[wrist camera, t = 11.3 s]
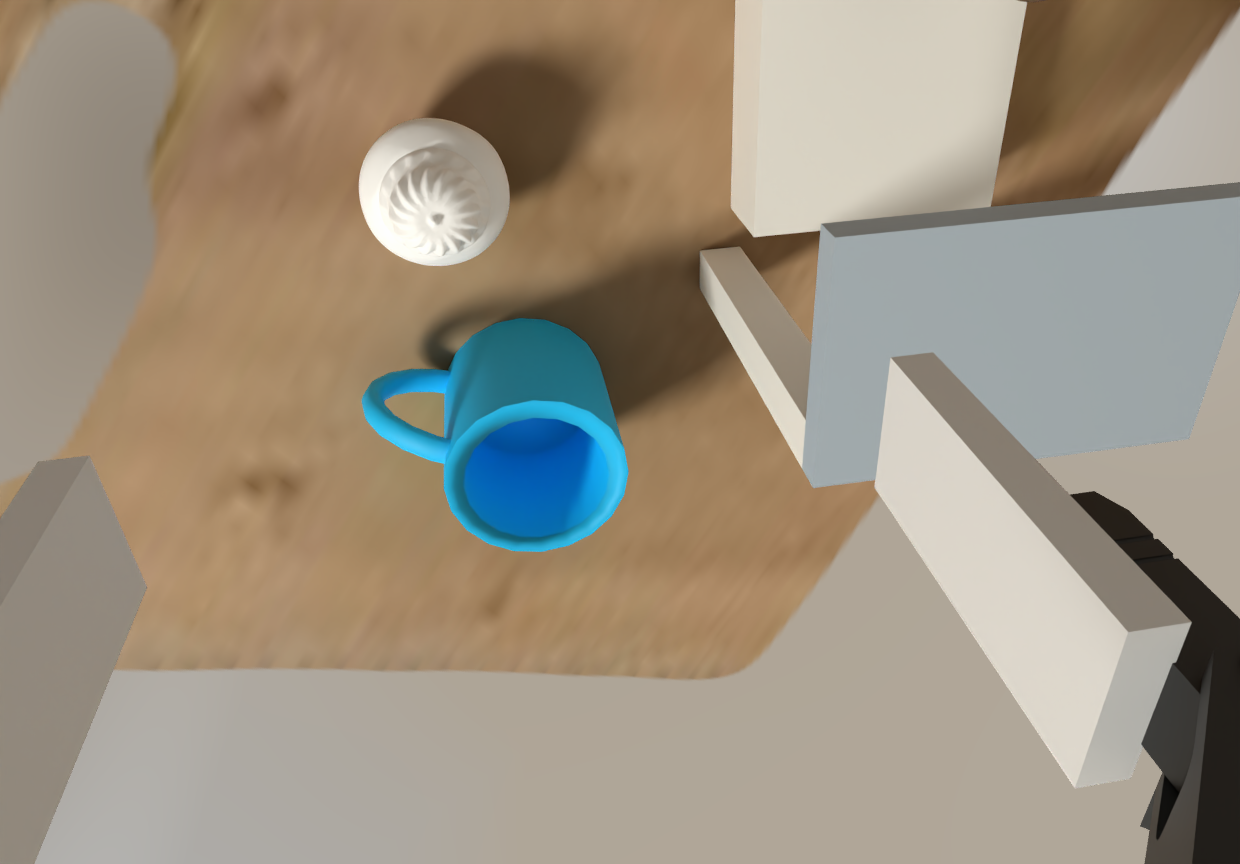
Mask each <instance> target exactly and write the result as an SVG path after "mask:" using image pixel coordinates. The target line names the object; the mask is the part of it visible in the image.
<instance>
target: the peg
mask: <svg viewBox="0 0 1240 864" xmlns="http://www.w3.org/2000/svg"><path fill="white" fill-rule="evenodd" d="M1018 1H1023V2H1039V1H1045V0H1018Z"/></svg>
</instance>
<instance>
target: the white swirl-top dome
mask: <svg viewBox="0 0 1240 864" xmlns="http://www.w3.org/2000/svg"><path fill="white" fill-rule="evenodd" d="M359 196H360V203H361V207H362V210H363V214H364V216H365V219H366V221H367V224H368V226H369V227H370V229H371V231H372V232H373V234H374V235H375V237H376V238H377V239H378V240H379V241H380V242H381V243H382V244H383V245H384V246H385V247H386V248H387V249H389V250H390V251H391V252H393V253H394V254H396V255H398V256H400V257H402V258H404V259H406V260H409V261H411V262H415V263H418V264H422V265H430V266H445V265H453V264H457V263H461V262H464V261H467V260H469V259H472V258H473V257H475V256H477V255H479V254H480V253H482V252H483V251H484V250H485V249H487V248H488V247H489V246H490V245H491V244H492V243H493V241H494V240H495V239H496V238H497V236H498V235H499V233H500V232H501V230H502V228H503V226H504V223H505V221H506V218H507V215H508V210H509V202H510V192H509V184H508V179H507V175H506V171H505V168H504V165H503V163H502V161H501V159H500V157H499V155H498V153H497V152H496V150H495V149H494V148H493V146H492V145H491V144H490V143H489V142H488V141H487V140H486V139H485V138H484V137H482V136H481V135H480V134H478V133H477V132H475V131H473V130H472V129H470V128H468V127H466V126H463V125H461V124H458V123H456V122H453V121H449V120H444V119H438V118H418V119H413V120H409V121H406V122H403V123H400V124H398V125H396V126H394V127H393V128H391V129H390V130H388V131H387V132H385V133H384V134H383V135H382V136H381V137H380V138H379V139H378V140H377V141H376V142H375V143H374V144H373V146H372V147H371V148H370V150H369V152H368V153H367V155H366V157H365V159H364V161H363V164H362V167H361V171H360V177H359Z"/></svg>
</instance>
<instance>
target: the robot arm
mask: <svg viewBox="0 0 1240 864" xmlns="http://www.w3.org/2000/svg"><path fill="white" fill-rule="evenodd" d="M875 489H876V490H877V492H878V493H879V495H880V496H881V498H882V499H883V501H884V502H885V504H886V505H887V507H888V508H889V510H890V511H891V513H892V514H893V516H894V517H895V519H896V520H897V522H898V523H899V525H900V526H901V528H902V529H903V531H904V532H905V534H906V535H907V537H908V538H909V540H910V541H911V543H912V544H913V546H914V547H915V549H916V550H917V552H918V553H919V555H920V556H921V558H922V559H923V561H924V562H925V564H926V565H927V567H928V568H929V570H930V571H931V573H932V574H933V576H934V577H935V579H936V580H937V582H938V583H939V585H940V586H941V588H942V589H943V591H944V592H945V594H946V595H947V597H948V598H949V600H950V601H951V603H952V604H953V606H954V607H955V609H956V610H957V612H958V613H959V615H960V616H961V618H962V619H963V621H964V622H965V624H966V625H967V627H968V629H969V630H970V631H971V633H972V634H973V636H974V637H975V639H976V641H977V642H978V644H979V645H980V646H981V648H982V650H983V651H984V653H985V654H986V656H987V657H988V658H989V660H990V661H991V663H992V665H993V666H994V667H995V669H996V671H997V672H998V674H999V675H1000V676H1001V678H1002V680H1003V681H1004V683H1005V684H1006V686H1007V687H1008V689H1009V690H1010V692H1011V693H1012V695H1013V696H1014V698H1015V699H1016V701H1017V702H1018V704H1019V705H1020V707H1021V708H1022V710H1023V711H1024V713H1025V714H1026V716H1027V717H1028V719H1029V720H1030V721H1031V723H1032V725H1033V726H1034V728H1035V729H1036V731H1037V732H1038V734H1039V735H1040V737H1041V738H1042V740H1043V741H1044V743H1045V744H1046V746H1047V747H1048V749H1049V750H1050V752H1051V753H1052V755H1053V756H1054V758H1055V759H1056V761H1057V762H1058V764H1059V765H1060V767H1061V768H1062V770H1063V771H1064V773H1065V774H1066V776H1067V777H1068V779H1069V780H1070V782H1071V783H1072V785H1073V786H1074V788H1080V787H1085V786H1091V785H1097V784H1102V783H1108V782H1114V781H1119V780H1125V779H1130V778H1131V776H1132V773H1133V771H1134V769H1135V766H1136V764H1137V761H1138V758H1139V756H1140V753H1141V751H1142V748H1143V747H1144V748H1145V750H1146V751H1147V752H1148V754H1149V755H1150V756H1151V758H1152V759H1153V760H1154V761H1155V763H1156V764H1157V765H1158V766H1159V768H1160V769H1161V771H1162V772H1163V773H1162V775H1161V777H1160V780H1159V782H1158V785H1157V787H1156V789H1155V792H1154V794H1153V797H1152V799H1151V801H1150V804H1149V806H1148V809H1147V811H1146V813H1145V816H1144V818H1143V820H1142V823H1141V825H1140V826H1141V827H1144V828H1146V829H1149V830H1150V831H1149V838H1148V845H1147V851H1146V858H1145V864H1240V619H1239V618H1238V616H1236V615H1235V614H1234V613H1233V612H1232V611H1231V610H1230V609H1229V608H1228V607H1227V606H1226V605H1225V604H1224V603H1223V602H1222V601H1221V600H1220V599H1219V598H1218V597H1217V596H1216V595H1215V594H1214V593H1213V592H1212V591H1211V590H1210V589H1209V588H1208V587H1207V586H1206V585H1205V584H1204V583H1203V582H1202V581H1201V580H1199V578H1197V576H1195V575H1194V574H1193V573H1192V572H1191V571H1190V570H1189V569H1188V568H1187V567H1186V566H1185V565H1184V564H1183V563H1182V562H1181V561H1180V560H1179V559H1174V558H1173V553H1172V552H1171V551H1170V550H1169V549H1168V548H1167V547H1166V546H1165V545H1164V544H1162V542H1161V541H1160V540H1158V539H1154V538H1153V534H1152V533H1151V532H1150V531H1149V530H1148V529H1147V528H1146V527H1145V526H1144V525H1143V524H1142V523H1141V522H1140V521H1139V520H1138V519H1137V518H1136V517H1135V516H1134V515H1133V514H1132V513H1131V512H1130V511H1129V510H1127V509H1125V508H1124V507H1122V506H1120V505H1118V504H1116V503H1114V502H1113V501H1111V500H1109V499H1107V498H1105V497H1104V496H1102V495H1100V494H1098V493H1096V492H1095V491H1093V492H1086V493H1079V494H1071V495H1069V494H1068V492H1067V491H1065V490H1064V488H1062V486H1061V485H1060V484H1059V483H1058V482H1057V481H1056V480H1055V479H1054V478H1053V477H1052V476H1051V475H1050V474H1049V473H1048V472H1047V471H1046V470H1045V469H1044V468H1043V466H1042V465H1041V464H1040V463H1038V461H1037V460H1036V459H1035V458H1034V457H1033V456H1032V455H1031V454H1030V453H1029V452H1028V451H1027V450H1026V449H1025V448H1024V447H1023V446H1022V445H1021V443H1020V442H1019V441H1018V440H1017V439H1016V438H1015V437H1014V436H1013V435H1012V434H1011V433H1010V432H1009V431H1008V430H1007V429H1006V428H1005V427H1004V426H1003V425H1002V424H1001V423H1000V422H999V421H998V419H997V418H996V417H995V416H994V415H993V414H992V413H991V412H990V411H989V410H988V409H987V408H986V407H985V406H984V405H983V404H982V403H981V402H980V401H979V400H978V399H977V398H976V397H975V395H974V394H973V393H972V392H971V391H970V390H969V389H968V388H967V387H966V386H965V385H964V384H963V383H962V382H961V381H960V380H959V379H958V378H957V377H956V376H955V375H954V374H953V373H952V371H951V370H950V369H949V368H948V367H947V366H946V365H945V364H944V363H943V362H942V361H941V360H940V359H939V358H938V357H937V356H936V355H935V354H934V353H933V352H931V353H923V354H915V355H906V356H898V357H891V358H890V366H889V374H888V382H887V390H886V398H885V407H884V415H883V423H882V431H881V439H880V447H879V456H878V464H877V472H876V480H875ZM146 589H147V586H146V584H145V581H144V579H143V577H142V575H141V572H140V570H139V568H138V565H137V563H136V561H135V559H134V556H133V554H132V552H131V549H130V547H129V545H128V543H127V540H126V538H125V536H124V533H123V531H122V529H121V526H120V524H119V522H118V520H117V517H116V515H115V513H114V510H113V508H112V506H111V504H110V501H109V499H108V497H107V494H106V492H105V490H104V488H103V485H102V483H101V481H100V478H99V476H98V474H97V472H96V469H95V467H94V465H93V462H92V460H91V458H90V456H82V457H73V458H65V459H57V460H49V461H41V462H38V463H37V464H36V466H35V467H34V469H33V470H32V472H31V473H30V475H29V476H28V478H27V479H26V481H25V482H24V484H23V485H22V487H21V488H20V490H19V491H18V493H17V494H16V496H15V497H14V499H13V500H12V502H11V503H10V505H9V506H8V508H7V509H6V511H5V512H4V514H3V515H2V517H1V518H0V864H34V863H35V860H36V858H37V855H38V853H39V851H40V848H41V846H42V843H43V841H44V838H45V836H46V834H47V831H48V829H49V826H50V824H51V821H52V819H53V816H54V814H55V812H56V809H57V807H58V804H59V802H60V799H61V797H62V794H63V792H64V789H65V787H66V784H67V782H68V779H69V777H70V774H71V772H72V770H73V767H74V765H75V762H76V760H77V757H78V755H79V753H80V750H81V748H82V745H83V743H84V740H85V738H86V736H87V733H88V731H89V728H90V726H91V723H92V721H93V718H94V716H95V714H96V711H97V709H98V706H99V704H100V701H101V699H102V696H103V694H104V691H105V689H106V687H107V684H108V682H109V679H110V676H111V674H112V672H113V669H114V667H115V665H116V662H117V660H118V657H119V655H120V652H121V650H122V647H123V645H124V642H125V640H126V638H127V635H128V633H129V630H130V628H131V625H132V623H133V620H134V618H135V616H136V613H137V611H138V608H139V606H140V603H141V601H142V598H143V596H144V593H145V591H146Z"/></svg>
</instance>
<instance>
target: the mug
mask: <svg viewBox="0 0 1240 864" xmlns="http://www.w3.org/2000/svg"><path fill="white" fill-rule="evenodd" d="M408 392H438V393H445V414H444V438H443V437H439V436H436V435H434V434H431V433H428V432H426V431H423V430H421V429H418V428H416V427H413V426H411V425H410V424H408V423H406V422H405V421H403V420H401V419H400V418H398V417H397V416H395V415H394V414H393V413H392V412H391V411H390V410H389V409H388V408H387V407H386V406H385V403H384V401H385V400H386V399H388V398H390V397H392V396H394V395H398V394H403V393H408ZM362 405H363V409H364V413H365V418H366V420H367V422H368V423H369V424H370V425H371V426H372V427H373V428H374V429H375V430H376V431H377V433H378V434H379V435H380V436H382V437H383V438H385V439H387V440H388V441H390V442H391V443H393V444H395V445H396V446H398V447H400V448H401V449H403V450H405V451H408V452H410V453H413V454H415V455H418V456H420V457H423V458H425V459H428V460H431V461H435V462H439V463H443V464H444V490H445V493H446V496H447V499H448V502H449V505H450V508H451V511H452V513H453V514H454V515H455V516H456V517H457V519H458V520H459V521H460V522H461V524H462V525H463V526H464V527H465V528H466V530H467V531H469V532H471V533H472V534H474V535H475V536H477V537H479V538H480V539H482V540H483V541H485V542H487V543H488V544H491V545H495V546H498V547H502V548H505V549H509V550H512V551H534V552H542V551H547V550H551V549H556V548H560V547H565V546H569V545H571V544H573V543H575V542H577V541H579V540H581V539H583V538H585V537H586V536H588V535H590V534H592V533H594V532H595V531H596V530H597V529H598V528H599V527H600V526H601V525H602V524H603V523H605V522H606V521H607V520H608V519H609V518H610V517H611V516H612V515H613V513H614V511H615V509H616V508H617V506H618V504H619V503H620V501H621V499H622V498H623V496H624V493H625V487H626V482H627V477H628V467H627V461H626V456H625V451H624V447H623V443H622V440H621V436H620V433H619V429H618V426H617V423H616V419H615V416H614V412H613V409H612V406H611V402H610V399H609V395H608V392H607V388H606V385H605V382H604V378H603V375H602V371H601V368H600V364H599V362H598V360H597V359H596V357H595V355H594V354H593V352H592V351H591V349H590V347H589V346H588V344H587V343H586V342H585V341H583V340H582V339H581V338H580V337H578V336H577V335H576V334H575V333H573V332H572V331H571V330H570V329H568V328H565V327H563V326H560V325H558V324H555V323H552V322H550V321H547V320H540V319H527V318H518V319H513V320H508V321H504V322H499V323H495V324H493V325H491V326H489V327H487V328H485V329H484V330H482V331H480V332H478V333H476V334H474V335H473V336H472V337H471V338H470V339H469V340H468V341H467V342H466V343H465V344H464V345H463V346H462V347H461V348H460V349H459V350H458V351H457V352H456V353H455V356H454V358H453V360H452V362H451V365H450V367H449V369H448V371H446V370H439V369H409V370H403V371H397V372H391V373H388V374H386V375H384V376H382V377H380V378H378V379H376V380H374V381H373V382H372V383H371V384H370V385H369V387H368V389H367V390H366V392H365V394H364V395H363V398H362Z"/></svg>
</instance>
